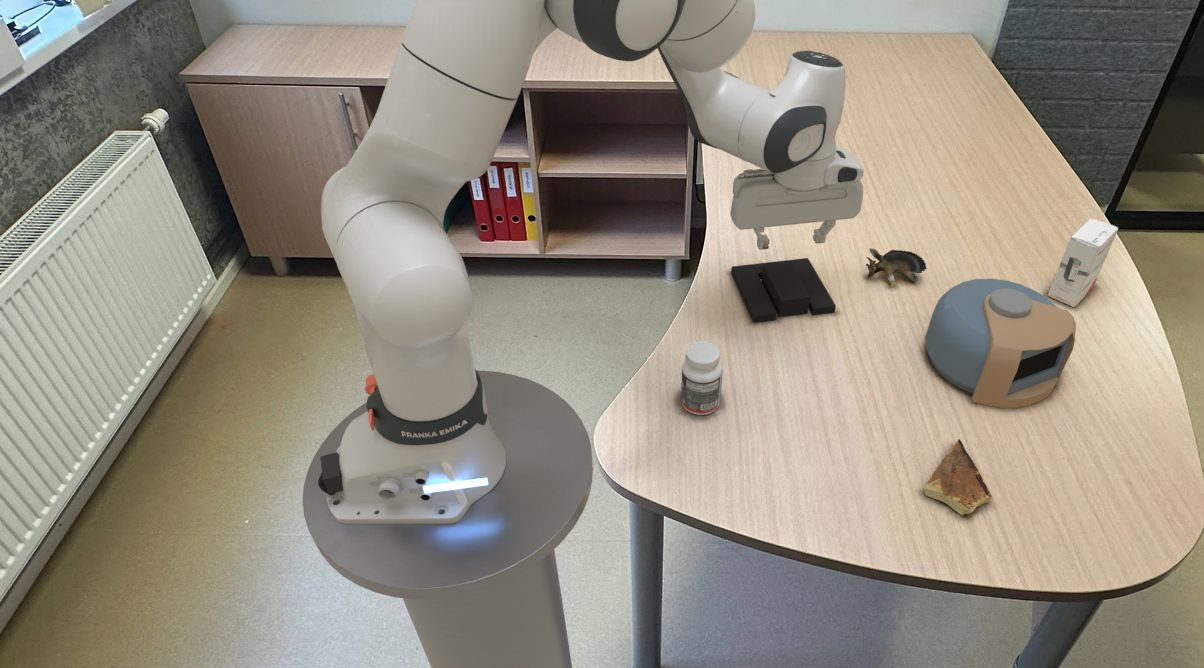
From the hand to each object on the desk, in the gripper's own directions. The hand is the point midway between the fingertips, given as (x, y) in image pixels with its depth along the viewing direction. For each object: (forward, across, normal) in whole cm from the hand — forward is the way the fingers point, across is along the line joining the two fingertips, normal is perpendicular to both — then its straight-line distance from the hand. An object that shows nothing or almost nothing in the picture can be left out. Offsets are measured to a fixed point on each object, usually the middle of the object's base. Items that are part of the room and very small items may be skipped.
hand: (790, 244), depth 125 cm
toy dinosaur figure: (+11, +20, +1) cm, 23 cm away
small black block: (+11, 0, 0) cm, 11 cm away
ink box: (+11, +49, -8) cm, 51 cm away
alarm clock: (+11, +26, -22) cm, 36 cm away
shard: (+11, +9, -43) cm, 45 cm away
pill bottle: (+11, -20, -22) cm, 31 cm away
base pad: (+11, 0, +1) cm, 11 cm away
